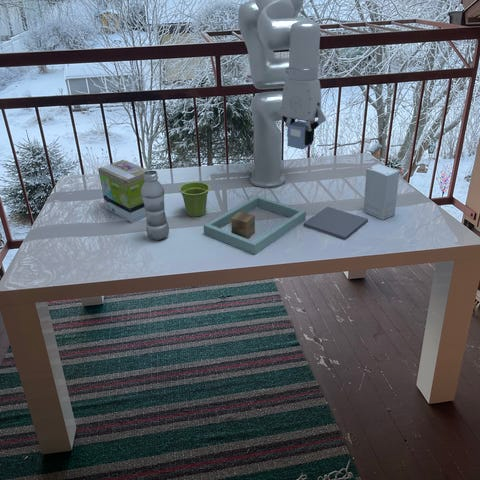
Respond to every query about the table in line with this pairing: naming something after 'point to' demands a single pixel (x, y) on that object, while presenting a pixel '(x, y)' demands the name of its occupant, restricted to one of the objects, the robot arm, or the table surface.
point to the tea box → (123, 189)
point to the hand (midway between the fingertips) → (300, 141)
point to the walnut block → (243, 224)
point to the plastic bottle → (154, 206)
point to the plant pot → (195, 197)
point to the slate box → (297, 135)
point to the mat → (335, 223)
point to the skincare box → (381, 191)
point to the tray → (265, 240)
